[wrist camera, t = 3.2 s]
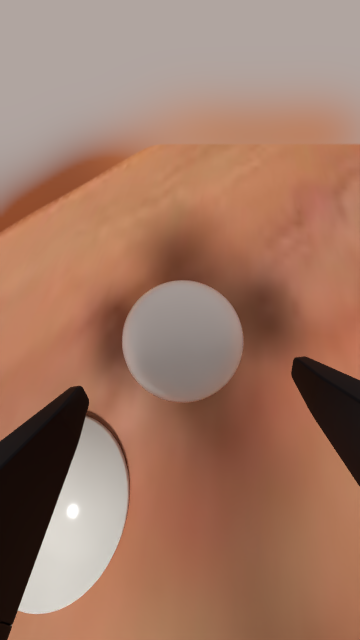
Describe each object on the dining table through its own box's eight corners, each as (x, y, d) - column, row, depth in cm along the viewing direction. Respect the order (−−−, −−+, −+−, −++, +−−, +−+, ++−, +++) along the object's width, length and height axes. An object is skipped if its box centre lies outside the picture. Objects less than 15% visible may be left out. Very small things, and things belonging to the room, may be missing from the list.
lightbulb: (215, 321, 18) (239, 242, 8) (228, 388, 16) (285, 398, 6) (153, 330, 19) (98, 264, 8) (158, 397, 17) (94, 422, 6)
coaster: (157, 529, 14) (156, 535, 13) (6, 651, 12) (-3, 664, 12) (92, 386, 17) (88, 386, 17) (-30, 467, 16) (-38, 470, 15)
